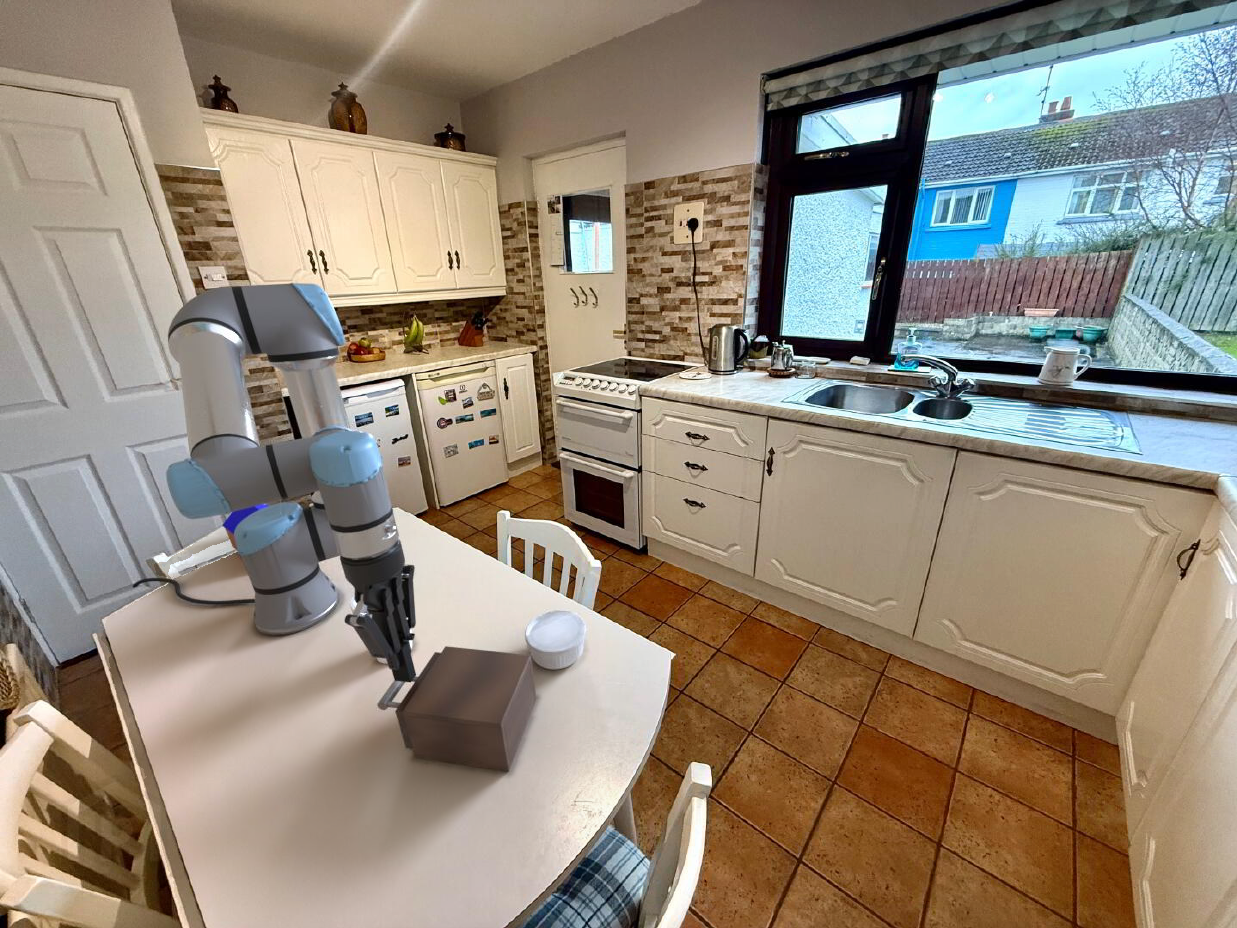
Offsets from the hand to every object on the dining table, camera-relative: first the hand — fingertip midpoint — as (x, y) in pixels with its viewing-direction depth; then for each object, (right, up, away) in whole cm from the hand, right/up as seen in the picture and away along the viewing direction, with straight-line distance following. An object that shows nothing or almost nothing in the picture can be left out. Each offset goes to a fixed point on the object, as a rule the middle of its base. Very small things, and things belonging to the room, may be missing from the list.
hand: (405, 677), depth 74 cm
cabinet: (+11, -9, +2) cm, 14 cm away
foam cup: (-10, -3, +17) cm, 20 cm away
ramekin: (+21, -2, +16) cm, 27 cm away
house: (-58, +11, +52) cm, 78 cm away
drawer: (+6, -8, +2) cm, 10 cm away
